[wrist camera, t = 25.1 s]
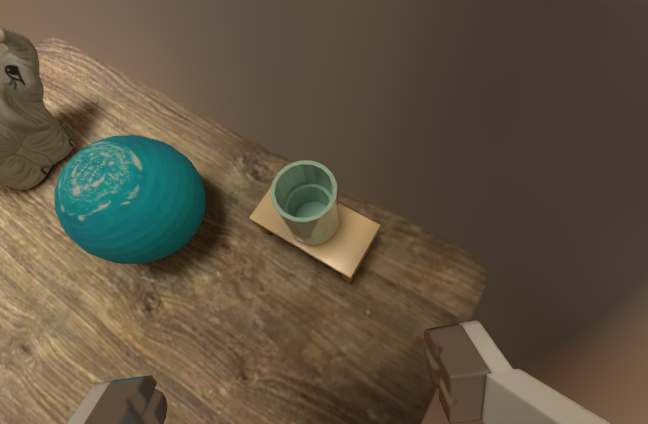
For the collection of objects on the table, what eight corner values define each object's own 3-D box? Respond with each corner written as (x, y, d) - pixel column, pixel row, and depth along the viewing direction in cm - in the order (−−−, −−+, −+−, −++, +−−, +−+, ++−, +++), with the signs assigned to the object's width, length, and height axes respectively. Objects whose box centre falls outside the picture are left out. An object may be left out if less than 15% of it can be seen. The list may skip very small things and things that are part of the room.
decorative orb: (244, 196, 44) (195, 136, 29) (184, 292, 39) (94, 277, 25) (162, 158, 47) (83, 87, 33) (99, 244, 43) (-23, 206, 28)
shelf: (376, 237, 40) (380, 225, 35) (350, 283, 38) (350, 278, 33) (288, 189, 43) (280, 172, 38) (260, 230, 42) (248, 217, 36)
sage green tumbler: (295, 252, 35) (279, 230, 26) (283, 205, 37) (264, 171, 28) (345, 236, 35) (345, 209, 26) (330, 191, 37) (325, 152, 28)
